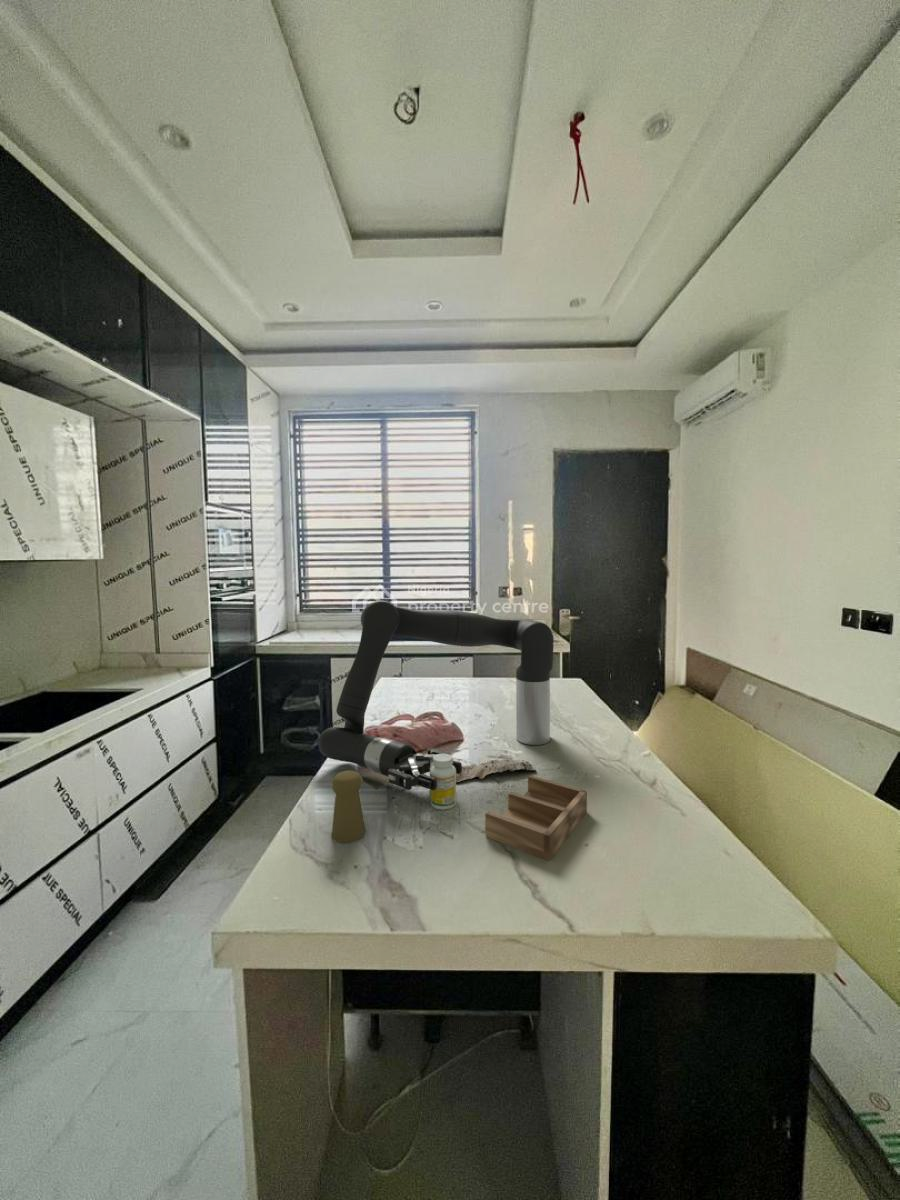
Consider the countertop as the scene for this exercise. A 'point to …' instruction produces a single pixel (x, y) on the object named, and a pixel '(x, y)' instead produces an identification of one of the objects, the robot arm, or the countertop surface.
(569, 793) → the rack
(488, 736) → the countertop surface
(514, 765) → the stone fragment
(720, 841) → the countertop surface
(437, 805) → the supplement bottle
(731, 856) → the countertop surface
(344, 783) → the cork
